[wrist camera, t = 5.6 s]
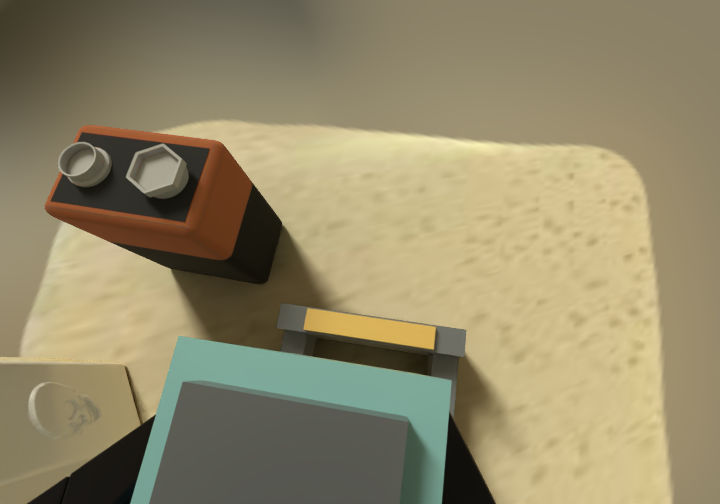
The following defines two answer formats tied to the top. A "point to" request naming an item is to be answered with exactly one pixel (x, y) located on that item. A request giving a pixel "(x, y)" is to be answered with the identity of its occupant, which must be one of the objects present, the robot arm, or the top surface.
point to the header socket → (374, 337)
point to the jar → (57, 420)
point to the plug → (292, 431)
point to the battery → (167, 201)
